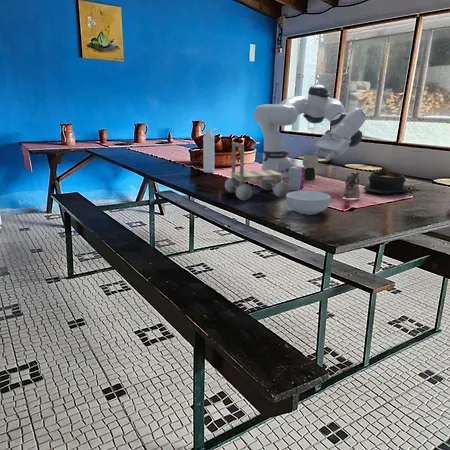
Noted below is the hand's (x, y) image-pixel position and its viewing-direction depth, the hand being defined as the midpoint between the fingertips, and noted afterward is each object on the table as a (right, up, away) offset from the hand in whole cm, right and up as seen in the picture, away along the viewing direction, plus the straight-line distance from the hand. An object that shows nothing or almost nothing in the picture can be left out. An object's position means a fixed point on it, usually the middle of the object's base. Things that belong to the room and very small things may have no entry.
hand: (320, 157), depth 196 cm
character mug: (0, -7, +27) cm, 28 cm away
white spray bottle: (-55, -1, +46) cm, 71 cm away
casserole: (+31, -16, +1) cm, 35 cm away
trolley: (-32, -18, -8) cm, 38 cm away
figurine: (+10, -21, -14) cm, 27 cm away
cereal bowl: (-14, -28, -35) cm, 47 cm away
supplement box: (-12, -16, +1) cm, 20 cm away
